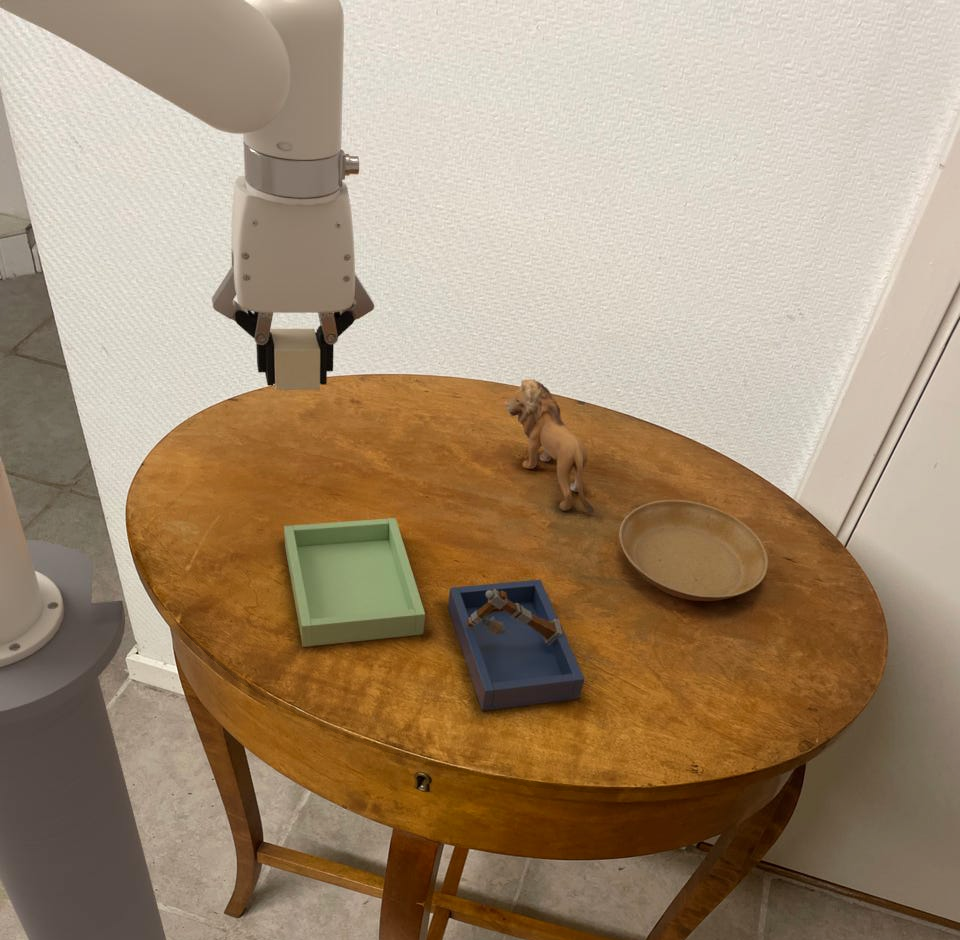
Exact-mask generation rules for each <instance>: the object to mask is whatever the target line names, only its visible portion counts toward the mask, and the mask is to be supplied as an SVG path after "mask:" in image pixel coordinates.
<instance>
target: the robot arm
mask: <svg viewBox="0 0 960 940" xmlns="http://www.w3.org/2000/svg"><path fill="white" fill-rule="evenodd" d="M0 8H1V9H3V10H4V11H6V12H8V13H10V14H12V15H13V16H16V17H18V18H20V19H22V20H24V21H26V22H29V23H30V24H33V25H35V26H37V27H39V28H41V29H43V30H45V31H47V32H49V33H51V34H53V35H55V36H57V37H58V38H60V39H62V40H64V41H66V42H68V43H69V44H71V45H73V46H75V47H76V48H78V49H80V50H82V51H83V52H85V53H87V54H89V55H90V56H92V57H94V58H95V59H97V60H98V61H100V62H102V63H103V64H105V65H107V66H109V67H110V68H112V69H113V70H115V71H117V72H119V73H120V74H122V75H124V76H126V77H127V78H128V79H130V80H132V81H134V82H135V83H137V84H139V85H140V86H142V87H143V88H146V89H148V90H149V91H150V92H153V93H154V94H156V95H158V96H159V97H161V98H162V99H164V100H166V101H168V102H170V103H171V104H173V105H175V106H176V107H178V108H180V109H181V110H183V111H185V112H186V113H187V114H189V115H191V116H193V117H194V118H196V119H198V120H200V121H201V122H203V123H205V124H206V125H207V126H210V127H212V128H213V129H215V130H217V131H221V132H223V133H229V134H233V135H234V134H236V135H237V134H242V139H243V140H242V141H243V142H242V143H243V144H242V145H243V164H244V175H241V176H238V177H237V178H236V179H235V181H234V186H233V187H234V188H233V194H232V203H231V204H232V205H231V220H230V221H231V223H230V225H231V226H230V227H231V228H230V230H231V231H230V233H231V234H230V236H231V237H230V238H231V239H230V247H231V248H230V249H231V267H230V269H229V270H228V272H227V274H226V275H225V277H224V278H223V280H222V281H221V283H220V285H219V286H218V287H217V289H216V291H215V292H214V294H213V295H212V297H211V303H212V308H213V310H214V311H216V312H217V313H219V314H221V315H223V316H224V317H226V318H227V319H230V320H232V321H234V322H235V323H236V324H237V325H238V326H239V327H240V328H241V329H242V330H243V331H245V332H246V333H247V334H248V335H249V336H250V337H251V338H252V339H254V342H255V345H256V346H255V347H256V348H255V349H256V366H257V372H258V373H259V374H260V373H264V374H265V379H266V384H267V386H268V387H269V386H271V387H272V386H274V385H275V362H274V342H273V338H272V333H271V332H270V329H272V328H271V327H272V321H273V316H274V313H275V314H277V313H280V314H281V313H282V314H286V313H290V314H293V313H294V314H298V313H299V314H305V313H306V314H310V313H311V314H313V313H315V314H316V313H317V315H318V320H319V326H318V327H317V328H316V331H315V334H316V338H317V341H318V345H319V347H320V386H324V385H325V386H326V385H327V383H328V372H334V352H335V351H334V347H335V346H334V345H335V344H337V343H338V340H339V337H340V336H342V334H343V333H344V332H345V331H346V330H348V329H349V328H350V327H351V326H352V325H353V324H354V322H355V321H356V320H359V319H361V318H363V317H364V316H366V315H367V314H369V313H372V312H373V310H374V309H375V304H374V303H375V302H374V301H373V299H372V296H371V295H370V293H369V292H368V290H367V289H366V287H365V285H364V284H363V282H362V281H361V279H360V277H359V275H358V274H357V272H356V262H355V261H356V260H355V241H354V240H355V238H354V237H355V236H354V226H353V216H352V214H353V213H352V207H351V201H350V193H349V189H348V185H347V184H346V183H345V182H343V181H345V179H346V177H350V175H359V174H360V159H359V158H360V157H359V156H358V155H350V154H349V153H346V152H345V151H344V149H342V138H343V137H342V132H343V131H342V130H343V91H344V89H343V88H344V87H343V86H344V41H345V17H344V16H345V14H344V10H343V9H344V8H343V5H342V3H341V1H340V0H0ZM235 297H236V300H237V301H236V300H235ZM5 468H6V467H5V464H4V462H3V459H2V456H1V455H0V667H4V666H7V665H9V664H12V663H15V662H18V661H20V660H22V659H24V658H26V657H28V656H30V655H32V654H33V653H35V652H36V651H38V650H39V649H41V648H42V647H43V646H44V645H46V644H47V643H48V642H49V641H50V640H51V639H52V638H53V637H54V635H55V634H56V632H57V631H58V630H59V628H60V626H61V623H62V621H63V618H64V611H65V609H64V603H63V599H62V596H61V593H60V590H59V589H58V587H57V586H56V585H55V583H54V582H53V581H51V580H50V579H49V578H48V577H47V576H45V575H43V574H41V573H39V572H37V571H35V570H34V567H33V563H32V560H31V556H30V553H29V550H28V546H27V543H26V540H27V539H26V536H25V533H24V530H23V526H22V523H21V519H20V516H19V512H18V510H17V506H16V502H15V499H14V495H13V492H12V489H11V485H10V482H9V479H8V475H7V472H6V469H5Z"/></svg>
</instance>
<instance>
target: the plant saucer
mask: <svg viewBox="0 0 960 940" xmlns="http://www.w3.org/2000/svg"><path fill="white" fill-rule="evenodd" d="M618 537H619V543H620V547H621V548H622V551H623V553H624V555H625V558H626V559H627V561H628V562H629V563H630V565H631V567H633V569H634V570H635V571H636V572H637V573H638V574H639V576H641V577H642V578H643V579H644V580H645V581H646V582H648V583H649V584H650V585H652V586H653V587H654V588H656V589H657V590H659V591H661V592H663V593H665V594H668V595H671V596H673V597H675V598H676V597H677V598H679V599H684V600H686V601H687V600H689V601H695V602H712V601H713V602H715V601H722V600H727V599H731V598H734V597H737V596H740V595H743V594H745V593H747V592H749V591H751V590H753V589H754V588H756V586H758V585H759V584H760V583H761V582H762V581H763V580H764V578H765V576H766V574H767V571H768V567H769V558H768V553H767V550H766V548H765V546H764V543H763V542H762V540H761V539H760V538H759V536H758V535H757V534H756V533H755V532H754V531H753V530H752V529H751V528H750V527H749V526H748V525H747V524H745V523H744V522H743V521H741V520H740V519H738V518H737V517H735V516H733V515H731V514H730V513H728V512H726V511H723V510H721V509H719V508H716V507H714V506H711V505H707V504H704V503H699V502H696V501H690V500H684V499H682V500H681V499H665V500H664V499H663V500H655V501H652V502H647V503H644V504H643V505H640V506H637V507H636V508H634V509H633V510H631V511H629V513H628V514H627V515H626V516H625V517H624V519H623V520H622V522H621V523H620V527H619V533H618Z"/></svg>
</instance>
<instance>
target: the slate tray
mask: <svg viewBox="0 0 960 940" xmlns="http://www.w3.org/2000/svg"><path fill="white" fill-rule="evenodd" d="M494 589H496V590H497V591H499V592H501V591H504V592H506V594H507V598H506V599H508V600H510V601H511V602H513V603H514V604H515V603H517V604H519V607H520V606H522V607H523V608H525V609H526V610H528V611H530V612H531V614H532V615H534V616H536V617H539V618H542V619H544V620H547V621H551V622H552V621H553V620H554V619H557V620H558V616H557V613H556V610H555V608H554V607H553V604H552V602H551V600H550V598H549V596H548V593H547V591H546V589H545V586H544V584H543V582H542V580H541V579H533V580H532V579H531V580H520V581H508V582H497V583H485V584H477V585H465V586H463V585H462V586H456V587H449V593H448V602H447V611H448V613H449V616H450V619H451V622H452V625H453V628H454V631H455V634H456V637H457V640H458V643H459V646H460V649H461V652H462V655H463V658H464V661H465V664H466V667H467V669H468V673H469V676H470V679H471V682H472V685H473V688H474V691H475V695H476V697H477V700H478V704H479V706H480V709H481V711H482V712H485V711H494V710H501V709H508V708H517V707H525V706H532V705H534V706H535V705H541V704H549V703H558V702H564V701H573V700H579V699H580V697H581V693H582V690H583V686H584V684H585V683H584V682H585V677H584V675H583V672H582V670H581V668H580V665H579V663H578V661H577V659H576V657H575V654H574V652H573V650H572V647H571V645H570V643H569V641H568V638H567V637H566V634H565V631H564V630H563V627H562V625H561V623H560V621H559V623H560V627H561V631H562V634H561V635H560V636H557V637H556V640H554V641H553V642H552V643H551V644H550V645H549V646H548V645H547V644H545V640H544V637H543V636H542V635H541V634H540V633H538V632H537V631H536V630H534V629H533V628H532V627H530V626H528V625H527V624H526V625H524V624H522V623H521V622H519V621H517V620H515V617H514V618H512V617H510V614H509V613H508V612H506V611H502V612H498V613H493V614H488V615H486V616H485V617H483V619H486V618H488V619H489V620H490V619H491V618H492V617H493V616H494V620H496V621H498V622H502V623H503V627H504V628H505V633H503V634H498V635H497V636H496V634H494V633H493V632H491V631H489V632H487V630H486V625H485V626H484V624H483V623H482V622H481V621H480V622H479V623H478V624H477V623H476V625H475V626H473V627H472V628H470V627H469V626H467V623H466V620H468V619H469V617H471V615H472V614H473V613H474V612H475V611H476V610H477V611H478V610H479V609H480V608H482V607H483V606H484V605H485V604H486V603H487V602H488V598H487V597H486V596H485V593H486V592H487V591H488V590H491V591H493V590H494ZM495 608H497V607H495ZM495 608H494V609H495ZM482 621H483V620H482Z"/></svg>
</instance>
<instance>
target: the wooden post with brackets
mask: <svg viewBox="0 0 960 940" xmlns="http://www.w3.org/2000/svg"><path fill="white" fill-rule="evenodd" d="M485 596H486V597H487V598H488V602H487V603H486V604H485V605H484V606H483V607H482V608H480V609H479V610H478V611H477V610H476V611H475V612H474V613H473V614H472V615H471V617H469V619H468V620H466V623H467V626H469V627H470V628H472V627H473V626H475V625H476V623H477V624H478V623H479V622H480V621H481V622H482V623H483V624H484V626H485V625H486V630H487V632H489V631H491V632H493V633H494V634H496V636H497V635H498V634H503V633H505V628H504V627H503V623H502V622H498V621H496V620H494V616H493V617H492V618H491V619H490V620H489V619H488V618H486V619H483V617H485V616H486V615H488V614H493V613H498V612H502V611H506V612H508V613H509V614H510V617H512V618H514V617H515V620H517V621H519V622H521V623H522V624H524V625H526V624H527V625H528V626H530V627H532V628H533V629H534V630H536V631H537V632H538V633H540V634H541V635H542V636H543V637H544V640H545V644H547V645H548V646H549V645H550V644H551V643H552V642H553V641H554V640H556V637H557V636H560V635H561V634H562V631H561V627H562V626H561V627H560V625H561V623H559V622H560V619H558V620H557V619H554V620H553V621H552V622H551V621H547V620H544V619H542V618H539V617H536V616H534V615H532V614H531V612H530V611H528V610H526V609H525V608H523V607H522V606H520V607H519V604H517V603H515V604H514V603H513V602H511V601H510V600H508V599H506V598H507V594H506V592H504V591H501V592H499V591H497V590H496V589H494V590H493V591H491V590H488V591H487V592H486V593H485ZM495 607H497V608H495ZM494 608H495V609H494ZM482 620H483V621H482Z"/></svg>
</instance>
